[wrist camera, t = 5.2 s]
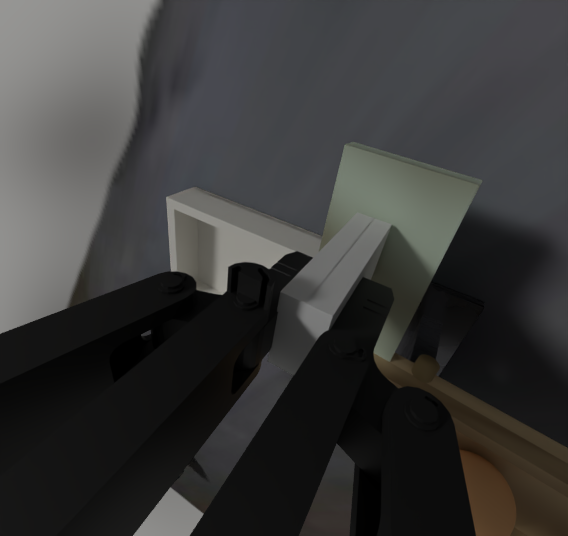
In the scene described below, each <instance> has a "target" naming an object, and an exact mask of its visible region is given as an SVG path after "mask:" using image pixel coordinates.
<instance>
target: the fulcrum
mask: <svg viewBox="0 0 568 536" xmlns="http://www.w3.org/2000/svg"><path fill="white" fill-rule="evenodd" d="M483 309H484V302H482V301H479V300H477V299H474V298H471V297H469V296H466V295H464V294H461V293H459V292H456V291H454V290H451V289H449V288H446V287H443V286H441V285H438V284H436V283H433V282H430V284H429V286H428V288H427V290H426V292H425V294H424V296H423V298H422V300H421V302H420V304H419V306H418V308H417V310H416V312H415V314H414V316H413V318H412V320H411V322H410V324H409V326H408V327H407V329H406V331H405V333H404V335H403V337H402V339H401V341H400V343H399V345H398V347H397V349H396V351H395V353H397V354H399V355H400V356H402V357H404V358H406V359H408V360H409V361H411V362H413V363H415V362H416V360H417V358H418V357H419V356H420V355H423V354H425V355H429V356H431V357H433V358H434V359H435V360H436V361H437V362H438V363H439V366H440V369H439V371H438V372H437V374H436V375H437V376H439V375H440V373H441V372H442V370H443V369H444V367H445V366H446V364H447V363H448V361H449V360H450V358H451V357H452V355H453V354H454V352H455V351H456V349H457V348H458V346H459V345H460V343H461V342H462V340H463V339H464V337H465V336H466V334H467V333H468V331H469V330H470V328H471V327H472V325H473V324H474V322H475V321H476V319H477V318H478V316H479V315H480V313H481V312H482V310H483Z"/></svg>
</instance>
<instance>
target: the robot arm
mask: <svg viewBox="0 0 568 536" xmlns="http://www.w3.org/2000/svg"><path fill="white" fill-rule="evenodd" d="M391 225H392V224H390V223H387V222H384V221H381V220H378V219H375V218H372V217H369V216H366V215H364V214H361V213H358V212H357V213H356V214H355V215H354V216H353V217H352V218H351V219H350V220H349V221H348V223H347V224H346V225H345V226H344V227H343V228H342V229H341V230H340V231H339V232H338V233H337V234H336V235H335V236H334V237H333V238H332V239H331V240H330V241H329V242H328V243H327V244H326V245H325V246H324V247H323V248H322V249H321V250H320V251H319V252H318V253H317V254H316V255H315V256H314V258H313V257H311V256H308V255H306V254H303V253H301V252H298V251H295V252H292V253H289V254H286V255H284V256H283V257H282V258H281V259H280V260H279V261H278V262H277V263H275V264H274V265H273V266H272V267H271V269H268V268H266V267H265V266H263V265H260V264H257V263H252V262H241V263H235V264H233V265H231V266H229V267H228V279H227V291H226V292H225V293H224V294H223V295H219V294H213V293H208V292H204V291H199V290H196V281H195V280H194V278H193V277H192V276H190V275H188V274H186V273H183V272H178V271H171V272H164V273H160V274H157V275H154V276H152V277H149V278H146V279H144V280H141V281H138V282H136V283H133V284H130V285H128V286H125V287H123V288H120V289H117V290H115V291H112V292H109V293H107V294H104V295H101V296H99V297H96V298H94V299H91V300H88V301H86V302H83V303H80V304H78V305H75V306H72V307H70V308H67V309H65V310H62V311H60V312H57V313H54V314H51V315H49V316H46V317H43V318H41V319H38V320H36V321H33V322H30V323H28V324H25V325H23V326H20V327H17V328H14V329H12V330H9V331H7V332H4V333H1V334H0V536H133V535H134V533H135V532H136V531H137V530H138V528H139V527H140V526H141V524H142V523H143V522H144V520H145V519H146V518H147V517H148V515H149V514H150V513H151V511H152V510H153V509H154V508H155V506H156V505H157V504H158V502H159V501H160V500H161V499H162V497H163V496H164V494H165V493H166V492H167V491H168V489H169V488H170V487H171V486H172V484H173V483H174V482H175V480H176V479H177V478H178V476H179V475H180V474H181V473H182V471H183V470H184V469H185V467H186V466H187V465H188V464H189V462H190V461H191V460H192V458H193V457H194V456H195V454H196V453H197V452H198V451H199V449H200V448H201V447H202V445H203V444H204V443H205V442H206V440H207V439H208V438H209V436H210V435H211V434H212V432H213V431H214V430H215V429H216V427H217V426H218V425H219V423H220V422H221V421H222V420H223V418H224V417H225V416H226V414H227V413H228V412H229V410H230V409H231V408H232V407H233V405H234V404H235V403H236V401H237V400H238V399H239V398H240V396H241V395H242V394H243V392H244V391H245V390H246V388H247V387H248V386H249V385H250V383H251V382H252V381H253V379H254V378H255V377H256V376H257V374H258V372H259V370H260V367H261V361H262V359H263V358H264V357H265V355H266V354H267V353H268V352H269V357H268V362H270V363H272V364H274V365H275V366H277V367H279V368H281V369H283V370H284V371H286V372H288V373H290V374H291V375H293V378H292V379H291V381H290V382H289V384H288V385H287V387H286V388H285V390H284V392H283V393H282V395H281V396H280V398H279V399H278V401H277V402H276V404H275V405H274V407H273V408H272V410H271V412H270V413H269V415H268V416H267V418H266V419H265V421H264V422H263V424H262V425H261V427H260V428H259V430H258V432H257V433H256V435H255V436H254V438H253V439H252V441H251V442H250V444H249V445H248V447H247V448H246V450H245V452H244V453H243V455H242V456H241V458H240V459H239V461H238V462H237V464H236V465H235V467H234V468H233V470H232V472H231V473H230V475H229V476H228V478H227V479H226V481H225V482H224V484H223V485H222V487H221V488H220V490H219V492H218V493H217V495H216V496H215V498H214V499H213V501H212V502H211V504H210V505H209V507H208V508H207V510H206V512H205V513H204V515H203V516H202V518H201V519H200V521H199V522H198V524H197V526H196V527H195V529H194V530H193V532H192V533H191V535H190V536H299V534H300V531H301V529H302V526H303V524H304V521H305V519H306V516H307V514H308V512H309V509H310V507H311V504H312V502H313V499H314V497H315V495H316V492H317V490H318V487H319V485H320V482H321V480H322V477H323V475H324V473H325V470H326V468H327V465H328V463H329V460H330V458H331V455H332V453H333V451H334V448H335V446H336V443H337V444H338V445H339V446H340V447H341V448H342V449H343V450H344V451H345V453H346V454H347V455H348V456H349V457H350V458H351V459H352V460H353V461H354V462H355V469H354V483H353V496H352V510H351V524H350V536H476V532H475V527H474V522H473V517H472V512H471V507H470V502H469V496H468V491H467V486H466V481H465V476H464V471H463V466H462V461H461V455H460V450H459V445H458V440H457V435H456V430H455V425H454V422H453V420H452V417H451V414H450V412H449V411H448V410H447V408H446V407H445V406H444V405H443V403H442V402H441V401H440V400H438V399H437V398H436V397H435V396H433V395H432V394H431V393H429V392H427V391H425V390H422V389H420V388H417V387H410V386H405V387H401V388H397V387H396V386H395V385H394V384H393V383H392V382H390V381H389V380H388V379H387V378H386V377H385V376H384V375H383V374H382V373H381V371H380V370H379V369H378V367H377V365H376V363H375V360H374V354H373V353H374V348H375V346H376V343H377V341H378V338H379V336H380V334H381V331H382V329H383V326H384V324H385V321H386V319H387V316H388V314H389V312H390V309H391V307H392V304H393V302H394V296H393V292H392V288H389V287H387V286H384V285H382V284H379V283H377V282H374V281H372V280H371V278H372V276H373V273H374V270H375V268H376V265H377V263H378V260H379V257H380V255H381V252H382V249H383V247H384V244H385V241H386V239H387V236H388V233H389V231H390V228H391ZM149 330H151V334H150V335H147V336H141V334H143V333H145V332H147V331H149ZM269 350H270V351H269Z"/></svg>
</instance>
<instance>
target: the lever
mask: <svg viewBox="0 0 568 536" xmlns="http://www.w3.org/2000/svg"><path fill="white" fill-rule="evenodd" d="M482 181H483V180H480V179H476V178H473V177H470V176H466V175H463V174H459V173H456V172H453V171H449V170H446V169H443V168H439V167H436V166H432V165H429V164H426V163H422V162H419V161H416V160H412V159H409V158H406V157H402V156H399V155H395V154H392V153H389V152H385V151H382V150H379V149H375V148H372V147H368V146H365V145H362V144H358V143H355V142H352V143H348V144H345V146H344V150H343V155H342V159H341V163H340V167H339V171H338V175H337V179H336V183H335V187H334V191H333V195H332V199H331V203H330V207H329V212H328V216H327V220H326V224H325V228H324V232H323V236H322V240H321V244H320V248H319V251H320V250H321V249H322V248H323V247H324V246H325V245H326V244H327V243H328V242H329V241H330V240H331V239H332V238H333V237H334V236H335V235H336V234H337V233H338V232H339V231H340V230H341V229H342V228H343V227H344V226H345V225H346V224H347V223H348V221H349V220H350V219H351V218H352V217H353V216H354V215H355V214H356V213H357V212H358V213H361V214H364V215H366V216H369V217H372V218H375V219H378V220H381V221H384V222H387V223H390V224H392V225H391V228H390V231H389V233H388V236H387V239H386V241H385V244H384V247H383V249H382V252H381V255H380V257H379V260H378V263H377V265H376V268H375V270H374V273H373V276H372V278H371V280H372V281H374V282H377V283H379V284H382V285H384V286H387V287H389V288H392V292H393V296H394V302H393V304H392V307H391V309H390V312H389V314H388V316H387V319H386V321H385V324H384V326H383V329H382V331H381V334H380V336H379V338H378V341H377V343H376V346H375V348H374V353H373V354H374V360H375V363H376V365H377V367H378V369H379V370H380V371H381V373H382V374H383V375H384V376H385V377H386V378H387V379H388V380H389V381H390V382H392V383H393V384H394V385H395V386H396V387H397V388H401V387H405V386H410V387H417V388H420V389H422V390H425V391H427V392H429V393H431V394H432V395H433V396H435V397H436V398H437V399H438V400H440V401H441V402H442V403H443V405H444V406H445V407H446V408H447V410H448V411H449V412H450V414H451V417H452V420H453V422H454V425H455V430H456V435H457V440H458V445H459V450H465V451H469V452H472V453H475V454H477V455H479V456H481V457H483V458H484V459H486V460H487V461H489V462H490V463H491V464H492V465H493V466H495V467H496V468H497V469H498V471H499V472H500V473H501V474H502V475H503V477H504V478H505V480H506V481H507V483H508V485H509V487H510V489H511V491H512V494H513V496H514V500H515V504H516V522H515V526H514V529H513V531H512V533H511V535H510V536H568V448H567V447H565V446H563V445H561V444H560V443H558V442H556V441H554V440H552V439H550V438H549V437H547V436H545V435H543V434H541V433H540V432H538V431H536V430H534V429H532V428H531V427H529V426H527V425H525V424H523V423H522V422H520V421H518V420H516V419H514V418H513V417H511V416H509V415H507V414H505V413H503V412H502V411H500V410H498V409H496V408H494V407H493V406H491V405H489V404H487V403H485V402H484V401H482V400H480V399H478V398H476V397H475V396H473V395H471V394H469V393H467V392H466V391H464V390H462V389H460V388H458V387H456V386H455V385H453V384H451V383H449V382H447V381H446V380H444V379H442V378H440V377H438V376H437V375H436V374H437V372H438V371H439V369H440V366H439V363H438V362H437V361H436V360H435V359H434V358H433V357H431V356H429V355H425V354H423V355H420V356H419V357H418V358H417V360H416V362H415V363H413V362H411V361H409V360H408V359H406V358H404V357H402V356H400V355H399V354H397V353H395V351H396V349H397V347H398V345H399V343H400V341H401V339H402V337H403V335H404V333H405V331H406V329H407V327H408V326H409V324H410V322H411V320H412V318H413V316H414V314H415V312H416V310H417V308H418V306H419V304H420V302H421V300H422V298H423V296H424V294H425V292H426V290H427V288H428V286H429V284H430V282H431V281H432V279H433V277H434V275H435V273H436V271H437V269H438V267H439V265H440V263H441V261H442V259H443V257H444V255H445V253H446V251H447V249H448V247H449V245H450V243H451V241H452V239H453V237H454V236H455V234H456V232H457V230H458V228H459V226H460V224H461V222H462V220H463V218H464V216H465V214H466V212H467V210H468V208H469V206H470V204H471V202H472V200H473V198H474V196H475V194H476V192H477V190H478V189H479V187H480V185H481V183H482Z"/></svg>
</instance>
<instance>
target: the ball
mask: <svg viewBox="0 0 568 536" xmlns="http://www.w3.org/2000/svg"><path fill="white" fill-rule="evenodd" d="M460 455H461V461H462V466H463V471H464V476H465V481H466V486H467V491H468V496H469V502H470V507H471V512H472V517H473V522H474V527H475V532H476V536H510V535H511V533H512V531H513V529H514V526H515V522H516V504H515V500H514V496H513V494H512V491H511V489H510V487H509V485H508V483H507V481H506V480H505V478H504V477H503V475H502V474H501V473H500V472H499V471H498V469H497V468H496V467H495V466H493V465H492V464H491V463H490V462H489V461H487V460H486V459H484V458H483V457H481V456H479V455H477V454H475V453H472V452H469V451H465V450H460Z"/></svg>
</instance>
